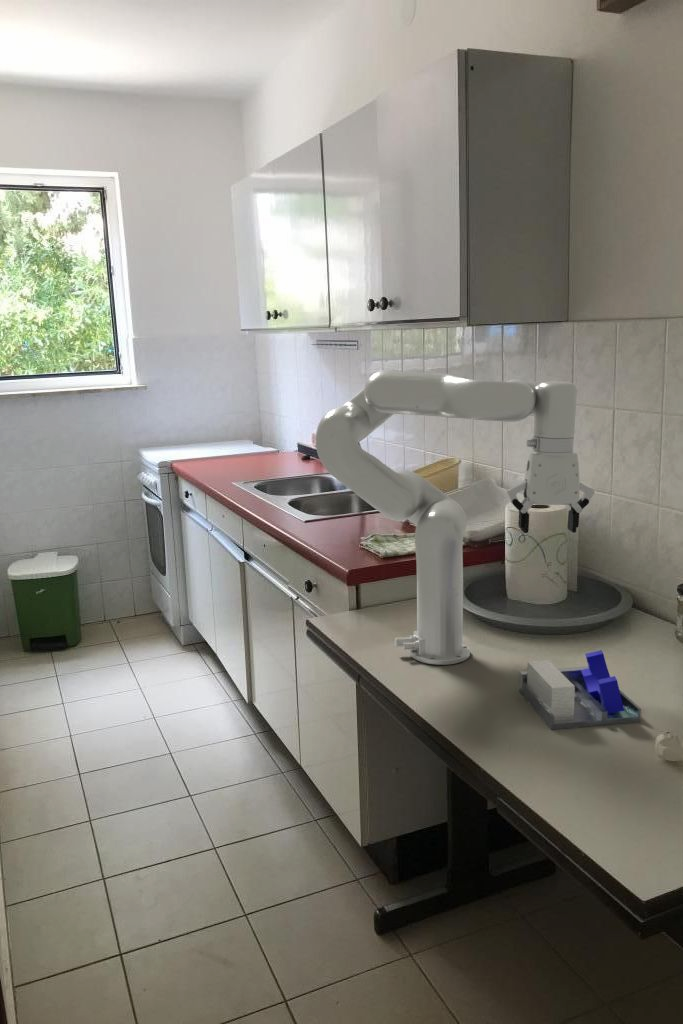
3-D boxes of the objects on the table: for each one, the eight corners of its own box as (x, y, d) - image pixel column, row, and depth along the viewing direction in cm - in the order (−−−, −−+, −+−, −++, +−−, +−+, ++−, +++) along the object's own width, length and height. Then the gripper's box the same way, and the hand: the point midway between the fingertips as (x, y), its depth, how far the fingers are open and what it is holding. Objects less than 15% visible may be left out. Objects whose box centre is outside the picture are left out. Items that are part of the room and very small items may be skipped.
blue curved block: (584, 684, 157) (577, 655, 155) (608, 678, 156) (601, 650, 155) (598, 716, 145) (590, 686, 144) (624, 710, 145) (616, 680, 143)
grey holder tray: (551, 729, 142) (552, 691, 141) (519, 691, 158) (519, 656, 156) (640, 722, 144) (642, 684, 143) (599, 684, 160) (601, 650, 158)
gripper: (515, 448, 159) (510, 536, 162) (604, 448, 160) (597, 535, 164) (504, 443, 166) (500, 527, 169) (589, 443, 167) (583, 526, 171)
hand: (548, 531), depth 166 cm, fingers open, 9 cm apart
